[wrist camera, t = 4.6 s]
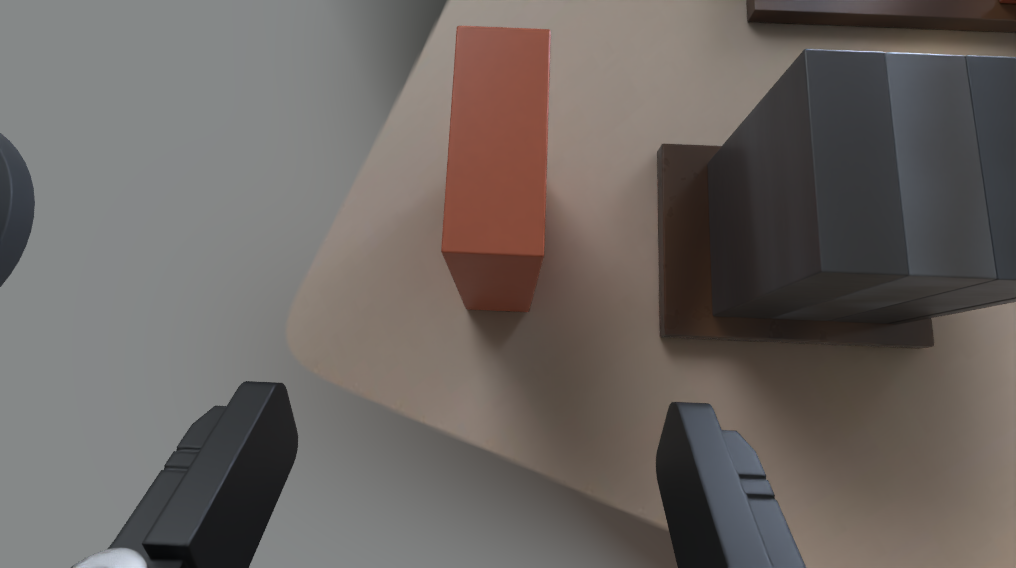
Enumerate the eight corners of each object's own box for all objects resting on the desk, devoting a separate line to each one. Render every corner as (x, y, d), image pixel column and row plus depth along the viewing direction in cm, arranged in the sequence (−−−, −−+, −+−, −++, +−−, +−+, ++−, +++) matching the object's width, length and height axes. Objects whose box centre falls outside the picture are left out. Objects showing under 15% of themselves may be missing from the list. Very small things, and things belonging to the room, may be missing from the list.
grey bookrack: (659, 337, 28) (750, 299, 17) (656, 151, 30) (736, 20, 19) (919, 348, 28) (1166, 317, 17) (899, 161, 30) (1108, 35, 19)
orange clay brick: (465, 309, 28) (440, 252, 17) (474, 161, 30) (456, 24, 19) (529, 312, 28) (544, 256, 17) (534, 164, 29) (551, 28, 19)
